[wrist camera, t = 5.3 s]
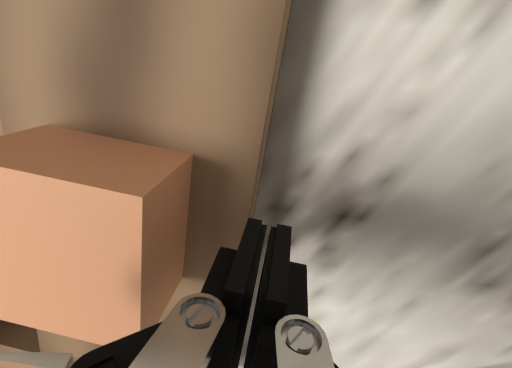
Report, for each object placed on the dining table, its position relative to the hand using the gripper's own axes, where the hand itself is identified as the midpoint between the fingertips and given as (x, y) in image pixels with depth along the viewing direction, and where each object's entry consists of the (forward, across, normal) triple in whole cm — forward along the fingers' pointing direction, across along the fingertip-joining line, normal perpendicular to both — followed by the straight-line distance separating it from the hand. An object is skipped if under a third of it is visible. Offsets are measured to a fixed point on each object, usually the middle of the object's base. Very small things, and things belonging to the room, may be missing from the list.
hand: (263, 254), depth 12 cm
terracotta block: (+1, +6, 0) cm, 6 cm away
